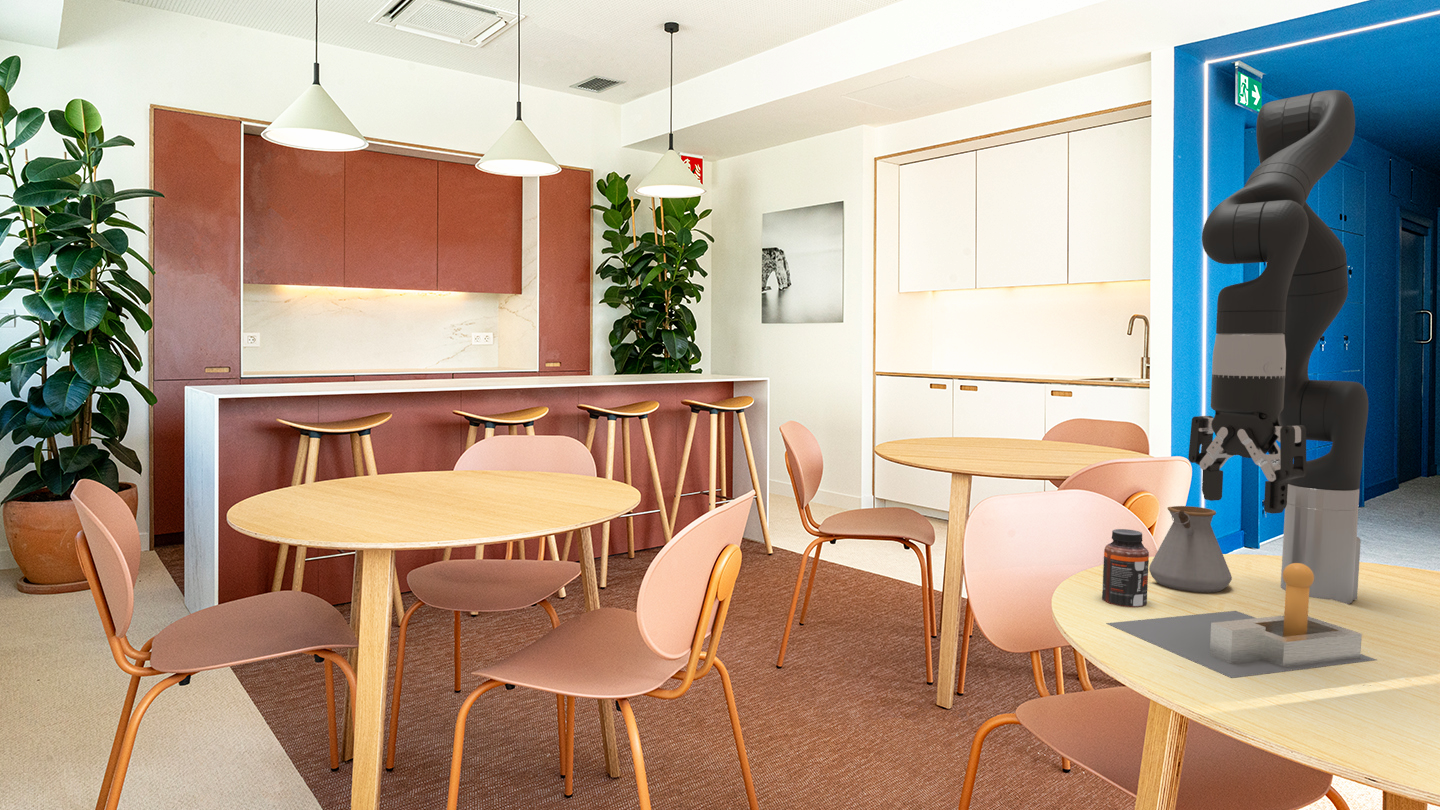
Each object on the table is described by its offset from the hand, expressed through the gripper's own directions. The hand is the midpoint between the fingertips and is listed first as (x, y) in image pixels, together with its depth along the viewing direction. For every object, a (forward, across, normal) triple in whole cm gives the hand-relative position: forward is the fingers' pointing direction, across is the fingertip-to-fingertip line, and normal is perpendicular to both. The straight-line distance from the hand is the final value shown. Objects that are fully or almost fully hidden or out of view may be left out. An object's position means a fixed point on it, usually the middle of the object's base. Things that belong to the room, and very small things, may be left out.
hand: (1241, 506), depth 106 cm
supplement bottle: (+19, +21, -2) cm, 29 cm away
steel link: (+18, -2, -4) cm, 19 cm away
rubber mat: (+19, +3, -3) cm, 19 cm away
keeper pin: (+19, -2, -7) cm, 20 cm away
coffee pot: (+20, +23, -15) cm, 34 cm away
